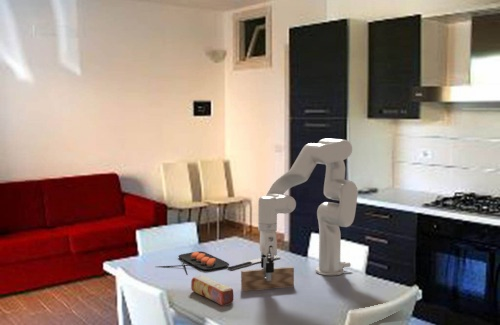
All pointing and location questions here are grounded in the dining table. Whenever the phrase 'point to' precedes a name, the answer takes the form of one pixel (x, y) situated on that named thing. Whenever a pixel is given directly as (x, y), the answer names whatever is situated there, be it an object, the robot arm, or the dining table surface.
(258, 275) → the wooden board
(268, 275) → the notched grey block
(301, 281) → the dining table surface
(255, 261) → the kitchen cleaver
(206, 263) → the sushi plate
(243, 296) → the dining table surface
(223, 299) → the snack package
